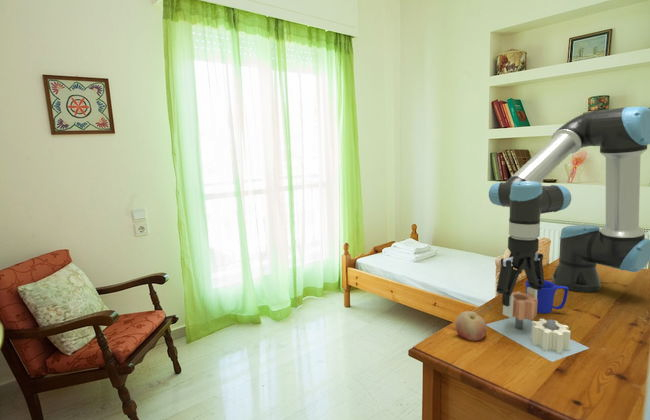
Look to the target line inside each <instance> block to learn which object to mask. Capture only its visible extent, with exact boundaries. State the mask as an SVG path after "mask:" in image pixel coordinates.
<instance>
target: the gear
mask: <svg viewBox="0 0 650 420" xmlns="http://www.w3.org/2000/svg"><path fill="white" fill-rule="evenodd" d="M547 320H548V319H544V318H539V319H538V321H537V320H536V321H535V320H532V321H533V322H532V334H531V339H532V343H533V344H534V345H539V346H540V347H542V350H545V351H548V350H552V351H556V352H557V353H562V350H563V349H564V350H569V346H570V339H571V330H569V328H570V327H569V326H568V325H566V324H562V323H559V321H558V320H554V319H553V320H554V321H555V322H556V325H555V330H550V329H547V328H546V325H547Z"/></svg>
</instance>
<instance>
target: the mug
mask: <svg viewBox="0 0 650 420" xmlns="http://www.w3.org/2000/svg"><path fill="white" fill-rule="evenodd" d="M538 280H539V279H538ZM539 281H540V280H539ZM527 287H531V286H530V285H529V282H528V279H527V280H526V281H525V294H527ZM541 287H542V289H541V290H539V289H538V297H537V299H538V303H537V314H551V313H552V311H553V309H555V310H561V309H563V308H564V307H565V304H566V302H567V298H568V294H569V290H568V287H565V286H557V285H555V284H554V283H553V282H552V281H549V280H545V279H544V285H543V286H541ZM560 289H561V290H564V292H563V293H564V294H563V298H562V301H561V303H560V304H559V305H558V306H554V299H555V294H556V292H557V290H560Z"/></svg>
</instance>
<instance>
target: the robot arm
mask: <svg viewBox="0 0 650 420" xmlns="http://www.w3.org/2000/svg"><path fill="white" fill-rule="evenodd" d="M648 145H650V108H649V107H646V106H644V105H643V106H625V107H618V108H610V109H602V110H592V111H587V112H585V113H582V114H580V115H577V116H575V117H574V118H572V119H570V120H568V122H566V123H564V124H563V125H561V126H560V127H559V128H558V129H557V130H555V131H554V132H553V134H552V135H551V139H550V140H549V141H548V142H547V143H546V144H545V145H544V146H543V147H542V148H540V149H539V150H538V152H536V153H535V154H534V155H533V156H532V157H531V158H530V159H529V160H528V161H526V162H525V163H524V165H522V166H521V167H520V168H519V169H518V170H517V171H516V172H515V173H514V174H512V176H510V178H509V179H507V180H506V181H505V182H502V181H500V182H495V183H493V184H492V185H491V186H490V187H489V189H488V198H489V201H490V203H492V204H493V205H496V206H501V207H504V208H509V219H508V221H509V222H508V235H509V236H508V238H507V248H508V250H509V252H510V254H509V256H508V257H507V258H504V257H503V258H501V259H500V271H499V276H498V281H497V284H496V285H497V286H496V290H495V292H496V293H498V294H500V295H501V297H502V298H501V299H502V300H501V304H502V315H503V316H506V317H508V318H513V298H514V296H513V295H511V294H512V293H513V291H514V289H515V286H516V284H517V280H518V279H519V275H521V274H522V273H523V271H524V272H525V276H526V278H527V280H528V282H529V285H530V286H531V287H527V294H531V295H533V298H537V297H538V289H539V290H541V289H542V287H541V286H543V285H544V280H545V277H544V276H545V275H544V267H543V265H544V264H543V259H544V254H543V253H540V252H539V245H540V242H539V241H540V240H539V237H540V231H541V230H540V229H541V214H548V213H553V212H554V213H556V212H559V211H562V210H565V209H567V208H568V207H569V206H570V204H571V202H572V194H571V191H570V190H569V189H568V188H567V187H566V186H564V185H560V184H559V185H557V184H552V185H542V182H543V180H544V179H546V177H548V176H549V175H550V174H551V173H552V172H553V171H554V170H555V169H556V168H557V167H558V166H559V165H560V164H561V163H563V161H564V160H565V159H566V158H568V157H569V156H570V155H571V154H575V153H577V152H578V151H580V150H581V149H583V148H586V147H599V153H600V154H601V155H602V156H604V157H605V225H604V226H602V228H601V227H600V226H598V225H592V224H578V225H577V224H576V225H567V226H564V227H562V228H561V231H560V236H559V256H558V264H557V266H556V268H555V271H554V272H553V274H552V277H551V278H552V281H551V282H552V283H553V284H555V286H565V287H568V291H573V292H579V293H593V292H598V291H600V290H601V286H602V285H601V284H602V283H601V282H602V281H601V280H600V276H599V273H598V270H597V269H598V268H597V265H599V266H600V265H601V266H605V267H609V268H612V269H617V270H620V271H627V272H631V273H636V272H640V271H642V270H643V269H644V268H646V266H647V265H648V264H649V262H650V239H649V238H645V235H646V232H645V230H644V229H642V228H641V227H640V197H641V194H640V190H641V189H640V185H641V155H642V154H644V153H645V152H646V151H647V150H648ZM538 279H539V280H540V281H539V280H538Z"/></svg>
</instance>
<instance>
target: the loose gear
mask: <svg viewBox="0 0 650 420" xmlns="http://www.w3.org/2000/svg"><path fill="white" fill-rule="evenodd" d="M511 295H513V296H514V298H513V317H516V318H518V320H523V319H529V320H531V321H534V320H535V317H537V315H538V313H537V303H538V299H537V298H533V295H531V294H526V293H523V292H522V291H518V290H517V291H514V292H513V291H512V294H511Z"/></svg>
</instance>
